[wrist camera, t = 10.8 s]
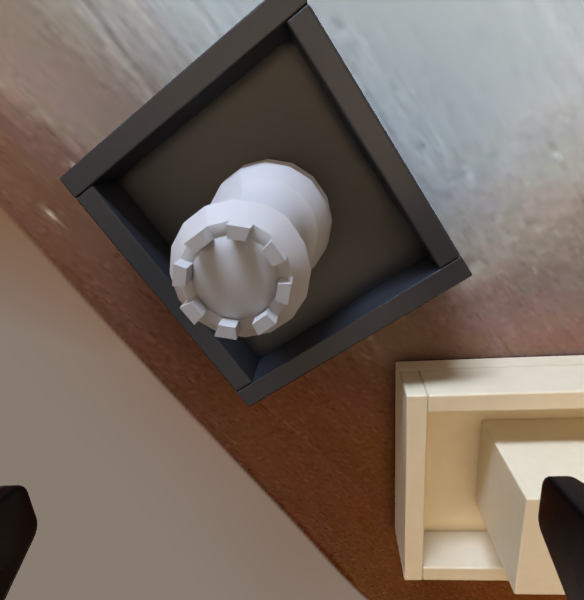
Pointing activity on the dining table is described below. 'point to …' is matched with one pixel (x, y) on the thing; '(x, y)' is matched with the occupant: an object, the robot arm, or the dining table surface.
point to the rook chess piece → (251, 250)
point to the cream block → (524, 492)
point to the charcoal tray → (282, 147)
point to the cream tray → (463, 451)
